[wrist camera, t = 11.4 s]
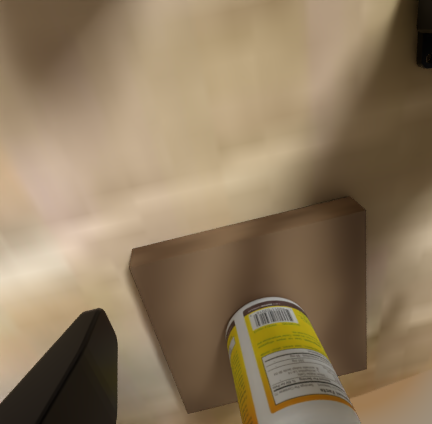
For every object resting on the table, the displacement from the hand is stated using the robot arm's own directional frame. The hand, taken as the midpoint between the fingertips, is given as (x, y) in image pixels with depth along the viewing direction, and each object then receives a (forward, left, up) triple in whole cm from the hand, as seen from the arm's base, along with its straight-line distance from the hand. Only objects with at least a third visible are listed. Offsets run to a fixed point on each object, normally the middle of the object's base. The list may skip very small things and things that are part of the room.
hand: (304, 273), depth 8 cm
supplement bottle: (0, +13, -11) cm, 17 cm away
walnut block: (0, +13, -13) cm, 18 cm away
